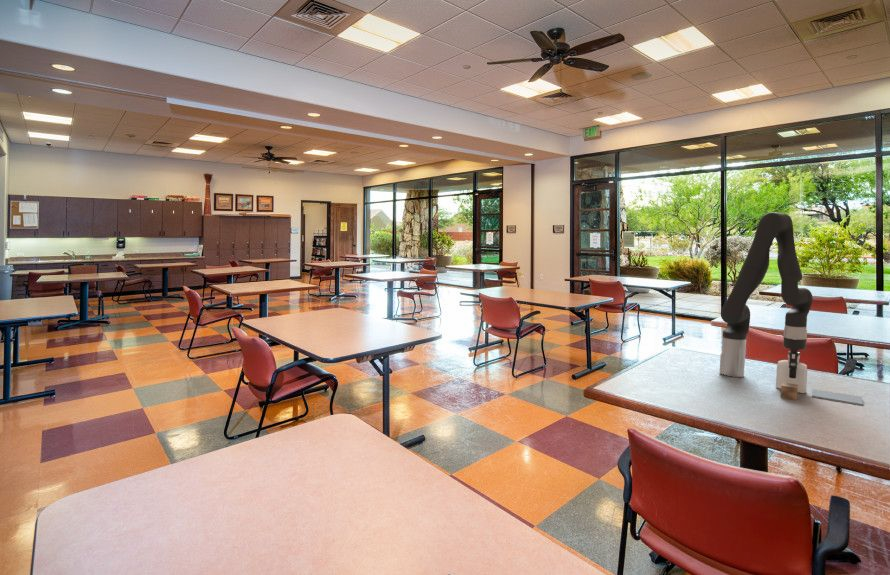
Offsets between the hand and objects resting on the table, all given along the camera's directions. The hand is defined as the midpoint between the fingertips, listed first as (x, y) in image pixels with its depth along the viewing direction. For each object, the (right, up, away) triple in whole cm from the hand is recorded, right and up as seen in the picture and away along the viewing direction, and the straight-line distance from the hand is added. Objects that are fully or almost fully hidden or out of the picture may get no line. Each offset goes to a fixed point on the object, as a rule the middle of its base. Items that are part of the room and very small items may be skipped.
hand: (792, 375), depth 188 cm
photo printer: (0, -6, +1) cm, 7 cm away
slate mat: (+11, -7, -8) cm, 15 cm away
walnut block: (-7, -7, -7) cm, 12 cm away
